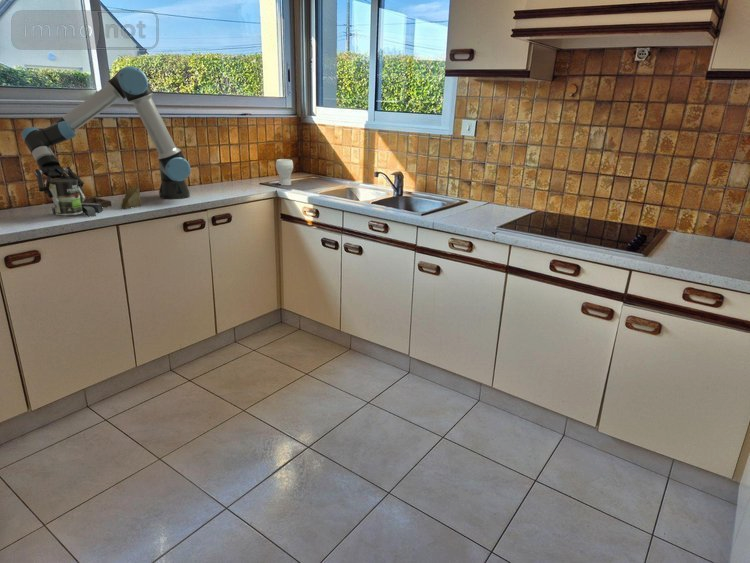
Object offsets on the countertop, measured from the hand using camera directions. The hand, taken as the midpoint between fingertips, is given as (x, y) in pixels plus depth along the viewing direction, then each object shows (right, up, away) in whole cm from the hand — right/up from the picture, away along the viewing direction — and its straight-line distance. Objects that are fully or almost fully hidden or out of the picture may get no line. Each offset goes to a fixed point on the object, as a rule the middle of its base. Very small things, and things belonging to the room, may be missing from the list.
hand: (70, 201), depth 211 cm
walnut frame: (-6, +1, +23) cm, 24 cm away
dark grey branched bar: (-2, -4, +10) cm, 11 cm away
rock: (+13, +1, +25) cm, 28 cm away
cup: (+73, +27, +101) cm, 127 cm away
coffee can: (-3, -5, +4) cm, 6 cm away
